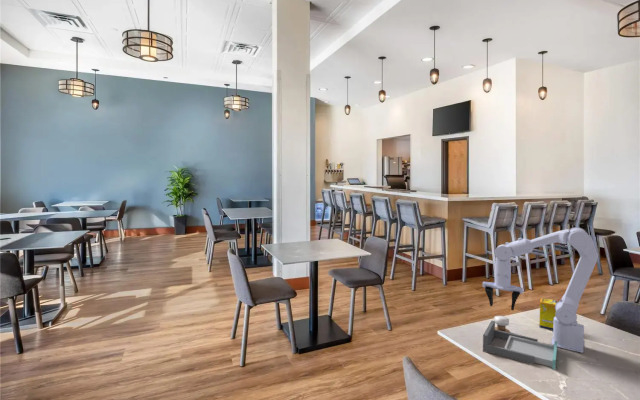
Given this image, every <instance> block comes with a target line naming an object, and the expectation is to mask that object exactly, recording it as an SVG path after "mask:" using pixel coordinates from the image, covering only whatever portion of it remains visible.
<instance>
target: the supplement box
mask: <svg viewBox="0 0 640 400" xmlns="http://www.w3.org/2000/svg"><path fill="white" fill-rule="evenodd" d="M557 302H558V300H555V299H551V298H550V299H549V298H540V300H539V323H538V325H539V328H541V329H546V330H552V331H553V324H554V317H556V309H555V305H556V303H557Z"/></svg>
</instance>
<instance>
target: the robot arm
mask: <svg viewBox="0 0 640 400" xmlns="http://www.w3.org/2000/svg"><path fill="white" fill-rule="evenodd" d="M567 242H568V243H569V245H570V246H572V247H573V248H574V249H576V251H577V252H578V254H579V256H580V257H579V259H578V262H577V264H576V267H575V269H574V271H573V273H572V276H571V278H570V280H569V282H568V285H567V287H566V289H565V292H564V293H563V295H562V297H561V299H560V300H559V301H557V303H556V305H555V309H556V317H554V324H553V330H552V337H551V344H550V345H553V346H554V342H555V341H557V348H560V349H565V350H569V351H573V352H577V353H581V354H582V353H584V347H585V341H586V340H585V326H584V324H580V323H578V321H577V319H578V315H577V311H578V310H579V304H580V301H581V298H582V295H583V294H584V291H585V290H586V286H587V285H588V282H589V280H590V278H591V276H592V274H593V272H594V269H595V266H596V264H597V262H598V259H599V254H598V252H597V248H596V246H595V242H594V240H593V239H592V237H591V236H590V235H589V233H587V231H586V230H585V229H584V228H582V227H578V226H577V227H572V228H567V229H565V228H564V229H562V230H558V231H554V232H551V233H548V234H545V235H542V236H539V237H535V238H533V239H528V238H525V237H524V238H522V237H519V238H517V240H515V241H511V242H508V241H507V242H505V243H504V244H500V245H498V246H497V247H496V248H495V249H494V255H495V259H494V260H495V262H494V282H489V281H482V288H484V292H485V294H486V295H487V299H488V301H489V306H490V307H493V306H494V290H498V291H499V290H501V291H506V292H507V291H508V292H511V305H510V306H511V307H510V309H511V310H510V311H514V309H515V306H516V305H515V304H516V303H517V300H518V298H519V296H520V294H521V295H523V294H524V287H520V286H516V285H512V284H511V281H512V280H511V279H512V278H511V277H512V264H511V260H512V259H511V257H514V258H515V257H519V256H523V255H526V254H530V253H532V252H533V251H534V249H535V248H539V247H543V246H547V245H551V244H555V243H559V244H562V245H567Z"/></svg>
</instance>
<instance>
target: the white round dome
mask: <svg viewBox="0 0 640 400" xmlns="http://www.w3.org/2000/svg"><path fill="white" fill-rule="evenodd" d="M493 319H494V320H493V321H495V325H497V324H498V325H502V326H506V327H507V326H509V324H510V318H508V317H506V316H503V315H495V316H494V318H493Z"/></svg>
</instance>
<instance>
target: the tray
mask: <svg viewBox="0 0 640 400" xmlns="http://www.w3.org/2000/svg"><path fill="white" fill-rule="evenodd" d="M504 348H505V349H509V350H513V351H517V352H521V353H525V354H529V355H533V356H534V364H535V363H536V364H538V365H543V366H546V367H550V368H552V370H555V371H556V364H557V355H558V347H557V341H555V342H554V346H553V345H551V344H548V343H544V342H540V341H538V342H536V341H532V340H528V339H523V338H519V337H515V336H509V338H508V340H506V343H505V346H504Z"/></svg>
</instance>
